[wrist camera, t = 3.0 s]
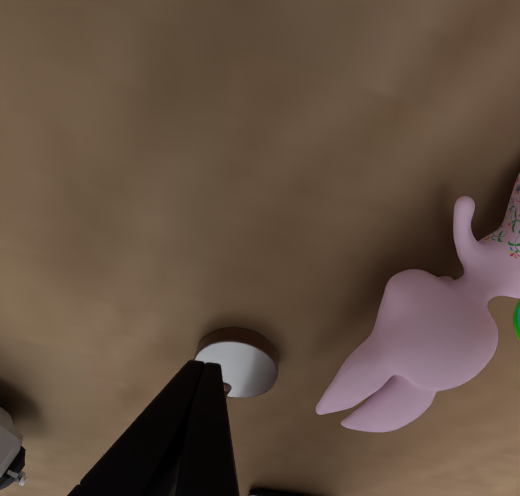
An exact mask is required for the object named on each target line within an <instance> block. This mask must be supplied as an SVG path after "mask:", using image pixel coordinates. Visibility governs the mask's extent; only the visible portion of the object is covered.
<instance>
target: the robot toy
mask: <svg viewBox="0 0 520 496" xmlns="http://www.w3.org/2000/svg"><path fill="white" fill-rule="evenodd" d="M22 440H23V436H22V434H21V433H20V432H19V431H18V430H17V429H16V428H15V427H14V424H13V421H12V419H11V416H10V414H9V413H7V412H6V411H5V410H4V409H2V408H1V407H0V490H1V489H3V488H5V487H7V486H9V485H10V484H11V483H13V482H14V481H15V482H18V484H19V485H21V486H23V485H24V484H25V482H26V481H27V479H28V477H25V476H24V475H25V474H26V473H24V472H22V471H21V470H22V469H23V467H24V466H25V449H24V448H23V447H22V446H21V444H22Z"/></svg>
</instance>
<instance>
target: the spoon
mask: <svg viewBox="0 0 520 496" xmlns="http://www.w3.org/2000/svg"><path fill="white" fill-rule="evenodd" d="M194 360H198V361H203V362H204V363H206V362H212V363H219V364H220V365H221V369H222V376H223V383H224V390H225V397H227V396H229V397H236V398H247V397H254V396H258V395H260V394H263V393H265V392H267V391H268V390H269V389H271V387H272V386H273V385H274V384H275V382H276V380H277V377H278V364H279V359H278V355H277V352H276V350H275V348H274V347H273V345H272V344H271V343H270V342H269V341H268V340H267V339H265V338H264V337H262V336H261V335H259V334H257V333H254V332H252V331H249V330H245V329H239V328H226V329H220V330H217V331H214V332H212V333H210V334H208V335H207V336H205V337H204V338H203V339H202V340H201V342H200V343H199V345H198V348H197V351H196V354H195V357H194Z"/></svg>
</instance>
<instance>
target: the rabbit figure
mask: <svg viewBox="0 0 520 496" xmlns="http://www.w3.org/2000/svg"><path fill="white" fill-rule="evenodd" d="M474 210H475V203H474V201H473V199H472V198H471V197H468V196H462V197H460V198H458V199H457V201H456V203H455V206H454V220H453V235H454V241H455V246H456V250H457V254H458V257H459V259H460V261H461V263H462V265H463V268H464V274H463V275H462V277H460V278H459V279H456V280H453V279H452V278H451V277H449V276H441V277H436V276H434V275H432V274H430V273H428V272H426V271H423V270H418V269H410V270H405V271H402V272H399V273H397V274H395V275H394V276H393V277H391V278H390V280H389V281H388V283H387V285H386V288H385V292H384V295H383V298H382V301H381V304H380V307H379V311H378V315H377V319H376V323H375V326H374V329H373V331H372V333H371V335H370V336H369V337H368V338H367V339H366V340H365V341H364V342H363V343H361V344H360V345H359V346H358V347H357V348H356V349H355V350H354V351H353V352H352V353H351V354H350V355H349V356H348V358H347V359H346V360H345V362H344V363H343V365H342V366H341V368H340V369H339V371H338V372H337V374H336V376H335V378H334V379H333V381H332V383H331V384H330V385H329V387H328V388H327V390H326V391H325V393H324V394H323V396H322V398H321V399H320V401H319V402H318V404H317V405H316V412H317V413H318V414H320V415H323V414H327V413H332V412H337V411H342V410H345V409H348V408H351V407H353V406H355V405H357V404H358V403H360V402H361V401H362V400H364V399H365V398H367V397H369V396H370V395H371V396H370V397H369V398H368V399H367V400H366V401H365V402H364V403H363V404H362V405H361V406H359V407H358V408H357V409H356V410H354V411H353V412H352V413H351V414H350V415H349V416H348V417H346V418H345V419H343V420H342V421H341V424H342V426H344V427H346V428H349V429H354V430H359V431H366V432H388V431H393V430H396V429H399V428H401V427H403V426H405V425H407V424H408V423H410V422H412V421H413V420H415V419H416V418H418V417H419V416H420V415H421V414H422V413H423V412H424V411H425V410H426V409H427V408H428V407H429V406H430V405H431V403H432V402H433V400H434V397H435V394H436V392H438V391H441V390H446V389H451V388H455V387H457V386H460V385H462V384H464V383H466V382H468V381H469V380H471V379H472V378H473V377H474V376H476V375H477V374H478V373H479V372H480V371H481V370H482V369H483V368H484V367H485V366H486V365H487V363H488V362H489V361H490V359H491V358H492V356H493V355H494V353H495V350H496V348H497V344H498V329H497V326H496V323H495V321H494V319H493V318H492V316H491V314H490V313H489V310H488V302H489V301H490V299H492V298H493V297H495V296H509V297H513V298H519V299H520V173H519V175H518V177H517V179H516V182H515V185H514V188H513V191H512V194H511V198H510V201H509V204H508V207H507V211H506V215H505V218H504V221H503V223H502V224H501V226H500V227H499V228H498V229H497V230H496V231H494V232H493V233H491V234H489V235H488V236H486V237H484V238H482V239H481V240H480V241H477V240H476V239H475V238H474V236H473V234H472V230H471V220H472V216H473V213H474ZM513 325H514V330H515V333H516V336H517V338H518V339H519V341H520V301H519V302H518V304H517V306H516V308H515V311H514V314H513Z"/></svg>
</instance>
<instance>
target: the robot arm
mask: <svg viewBox="0 0 520 496" xmlns="http://www.w3.org/2000/svg"><path fill="white" fill-rule="evenodd" d="M67 496H240V495H239V488H238V481H237V474H236V467H235V460H234V453H233V446H232V439H231V432H230V425H229V418H228V411H227V404H226V397H225V390H224V383H223V376H222V369H221V365H220V364H219V363H212V362H206V363H204V362H203V361H198V360H189V361H188V362H187V363H186V364H185V365H184V366H183V367H182V368H181V369H180V371H179V372H178V373H177V374H176V375H175V376H174V377H173V378H172V379H171V381H170V382H169V383H168V384H167V385H166V386H165V387H164V388H163V390H162V391H161V392H160V393H159V394H158V395H157V396H156V397H155V398H154V400H153V401H152V402H151V403H150V404H149V405H148V406H147V407H146V408H145V410H144V411H143V412H142V413H141V414H140V415H139V416H138V417H137V418H136V420H135V421H134V422H133V423H132V424H131V425H130V426H129V427H128V429H127V430H126V431H125V432H124V433H123V434H122V435H121V436H120V437H119V439H118V440H117V441H116V442H115V443H114V444H113V445H112V446H111V447H110V449H109V450H108V451H107V452H106V453H105V454H104V455H103V456H102V457H101V459H100V460H99V461H98V462H97V463H96V464H95V465H94V466H93V468H92V469H91V470H90V471H89V472H88V473H87V474H86V475H85V476H84V478H83V479H82V480H81V481H80V485H79V484H78V485H76V486H75V487H74V488H73V490H72V491H71V492H70V493H69V494H68V495H67ZM249 496H297V495H291V494H284V493H278V492H271V491H265V490H258V489H251V490H250V491H249Z"/></svg>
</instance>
